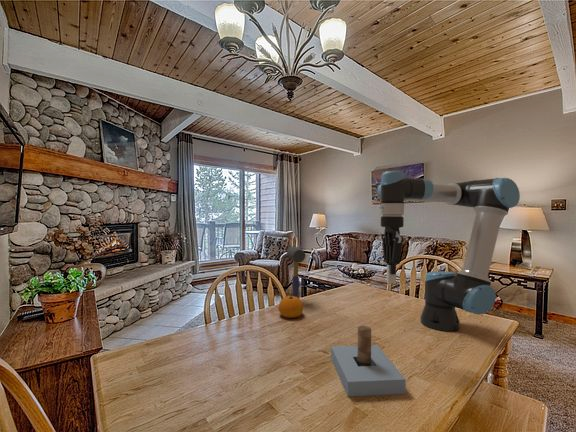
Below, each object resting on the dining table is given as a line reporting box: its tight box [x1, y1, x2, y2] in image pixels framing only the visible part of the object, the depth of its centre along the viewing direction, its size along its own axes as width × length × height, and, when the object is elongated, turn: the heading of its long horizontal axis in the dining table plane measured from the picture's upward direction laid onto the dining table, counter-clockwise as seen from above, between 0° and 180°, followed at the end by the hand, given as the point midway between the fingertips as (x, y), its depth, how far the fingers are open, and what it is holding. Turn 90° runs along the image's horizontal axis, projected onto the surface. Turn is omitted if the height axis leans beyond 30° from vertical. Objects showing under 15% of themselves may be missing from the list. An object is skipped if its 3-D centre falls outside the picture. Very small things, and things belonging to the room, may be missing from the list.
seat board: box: [330, 344, 407, 397], centre depth 88 cm, size 16×20×4 cm
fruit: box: [278, 294, 304, 319], centre depth 136 cm, size 12×12×10 cm
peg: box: [357, 325, 372, 367], centre depth 88 cm, size 4×4×14 cm
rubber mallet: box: [286, 246, 306, 299], centre depth 153 cm, size 12×8×30 cm, turn 16°
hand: (391, 282), depth 101 cm, fingers closed
